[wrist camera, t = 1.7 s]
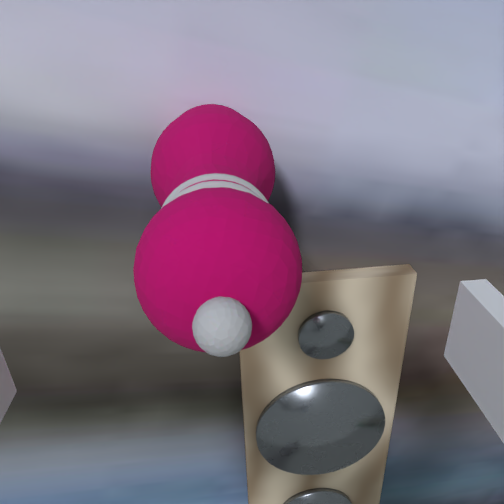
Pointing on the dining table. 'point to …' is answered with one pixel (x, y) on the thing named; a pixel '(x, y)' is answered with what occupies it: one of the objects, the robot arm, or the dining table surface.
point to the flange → (319, 497)
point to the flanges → (321, 410)
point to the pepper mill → (216, 237)
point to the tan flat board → (331, 372)
